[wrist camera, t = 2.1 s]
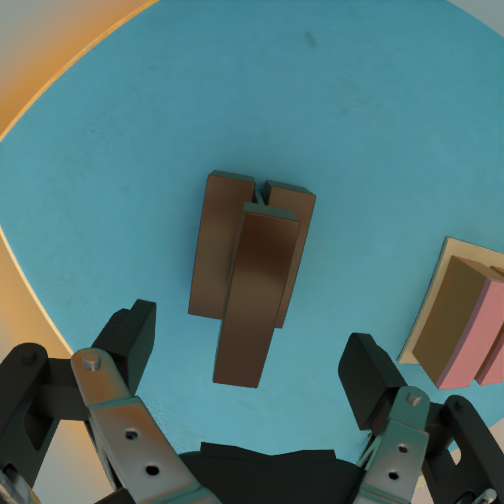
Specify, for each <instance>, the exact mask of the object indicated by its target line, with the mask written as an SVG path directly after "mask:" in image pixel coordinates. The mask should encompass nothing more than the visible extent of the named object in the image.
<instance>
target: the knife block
mask: <svg viewBox="0 0 504 504" xmlns="http://www.w3.org/2000/svg"><path fill="white" fill-rule="evenodd" d="M254 188H255V181H254V178H253V177H250V176H244V175H239V174H233V173H228V172H222V171H216V170H214V171H213V172H211V173H210V174H209V175H208V179H207V185H206V191H205V197H204V203H203V209H202V215H201V221H200V228H199V234H198V241H197V248H196V255H195V262H194V269H193V277H192V284H191V292H190V300H189V309H188V314H191V315H197V316H202V317H208V318H214V319H220V320H221V319H222V314H223V308H224V303H225V297H226V291H227V286H228V280H229V275H230V269H231V264H232V259H233V253H234V248H235V242H236V237H237V232H238V227H239V221H240V216H241V211H242V206H243V203H244V202H250V203H252V198H253V193H254ZM315 199H316V195H315V194H313V193H312V192H310V191H309V190H307V189H305V188H304V187H299V186H294V185H290V184H285V183H280V182H275V181H270V180H267V181H266V185H265V190H264V195H263V201H264V203H265V205H266V206H271V207H276V208H281V209H286V210H291V211H293V213H294V214H295V215H296V217H297V218H298V219H299V220H300V222H301V226H300V230H299V234H298V238H297V243H296V247H295V251H294V255H293V259H292V263H291V267H290V271H289V275H288V279H287V283H286V287H285V290H284V294H283V298H282V302H281V306H280V309H279V313H278V317H277V321H276V324H275V328H282V327H283V324H284V320H285V317H286V313H287V309H288V306H289V302H290V298H291V295H292V291H293V287H294V284H295V280H296V276H297V272H298V268H299V265H300V261H301V257H302V253H303V249H304V245H305V241H306V237H307V233H308V229H309V225H310V221H311V216H312V212H313V208H314V204H315Z"/></svg>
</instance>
